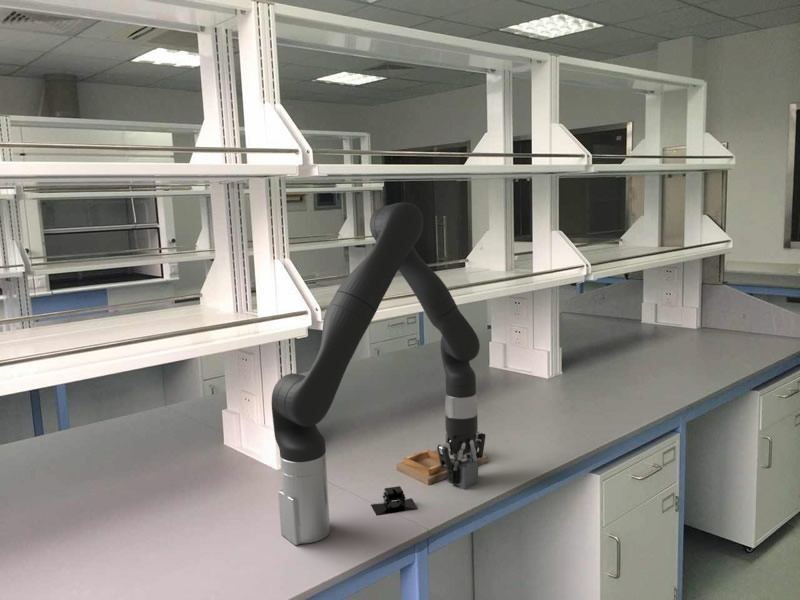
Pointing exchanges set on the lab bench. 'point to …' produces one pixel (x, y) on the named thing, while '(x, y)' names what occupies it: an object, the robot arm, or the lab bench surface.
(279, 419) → the robot arm
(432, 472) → the wooden base board
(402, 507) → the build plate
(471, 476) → the grey box with knob
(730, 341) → the lab bench surface
